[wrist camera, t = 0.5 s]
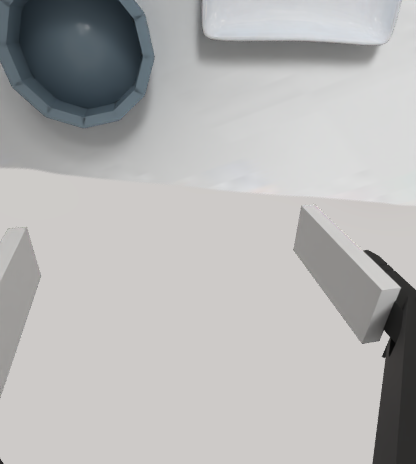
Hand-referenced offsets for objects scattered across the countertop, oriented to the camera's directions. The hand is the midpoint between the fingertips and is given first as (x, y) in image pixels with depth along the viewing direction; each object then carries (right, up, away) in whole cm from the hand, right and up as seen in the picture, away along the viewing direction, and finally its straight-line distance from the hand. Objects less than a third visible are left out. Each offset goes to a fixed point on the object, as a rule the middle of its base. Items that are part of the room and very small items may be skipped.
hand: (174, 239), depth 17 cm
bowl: (-11, +19, +18) cm, 28 cm away
